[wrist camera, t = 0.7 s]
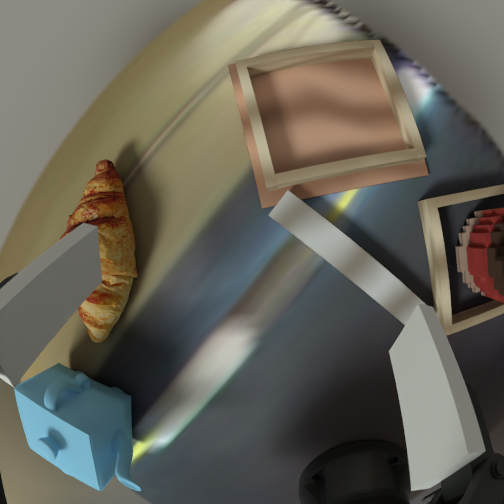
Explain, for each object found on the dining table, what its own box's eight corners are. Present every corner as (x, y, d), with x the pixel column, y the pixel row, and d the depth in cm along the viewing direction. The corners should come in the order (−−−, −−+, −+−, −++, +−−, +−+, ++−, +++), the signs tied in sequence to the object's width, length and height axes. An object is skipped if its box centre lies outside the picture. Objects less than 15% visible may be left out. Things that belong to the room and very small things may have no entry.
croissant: (138, 334, 37) (138, 361, 29) (66, 330, 33) (51, 355, 26) (146, 167, 35) (146, 154, 27) (70, 164, 31) (52, 151, 24)
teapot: (73, 426, 36) (25, 465, 23) (64, 343, 35) (-1, 373, 22) (174, 471, 34) (139, 530, 21) (180, 387, 32) (130, 450, 20)
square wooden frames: (529, 292, 26) (542, 295, 23) (295, 364, 30) (295, 376, 27) (464, 45, 25) (472, 35, 22) (228, 67, 30) (223, 54, 27)
